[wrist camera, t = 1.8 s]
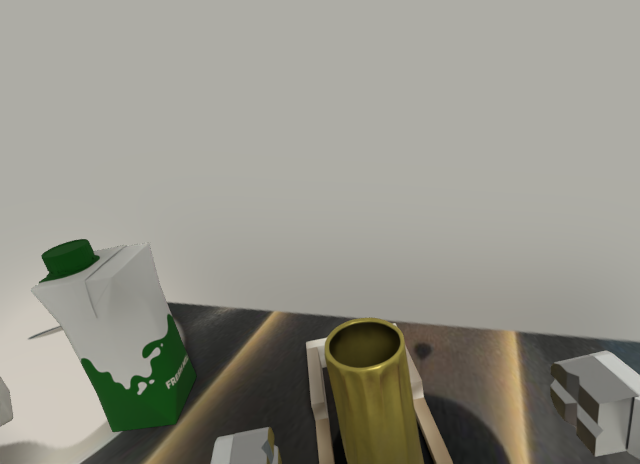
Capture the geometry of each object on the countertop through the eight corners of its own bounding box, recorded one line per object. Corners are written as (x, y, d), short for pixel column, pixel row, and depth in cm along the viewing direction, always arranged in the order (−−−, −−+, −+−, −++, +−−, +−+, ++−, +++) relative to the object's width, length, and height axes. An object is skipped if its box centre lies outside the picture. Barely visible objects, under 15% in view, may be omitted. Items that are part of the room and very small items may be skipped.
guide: (330, 562, 26) (322, 535, 25) (311, 362, 45) (306, 342, 44) (479, 530, 26) (477, 501, 25) (398, 344, 45) (395, 323, 44)
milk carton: (138, 379, 48) (70, 234, 41) (207, 370, 47) (151, 219, 40) (99, 441, 40) (6, 273, 33) (182, 431, 39) (106, 256, 32)
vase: (372, 442, 34) (347, 306, 29) (441, 472, 30) (426, 323, 25) (336, 506, 30) (298, 359, 24) (412, 550, 26) (386, 389, 21)
